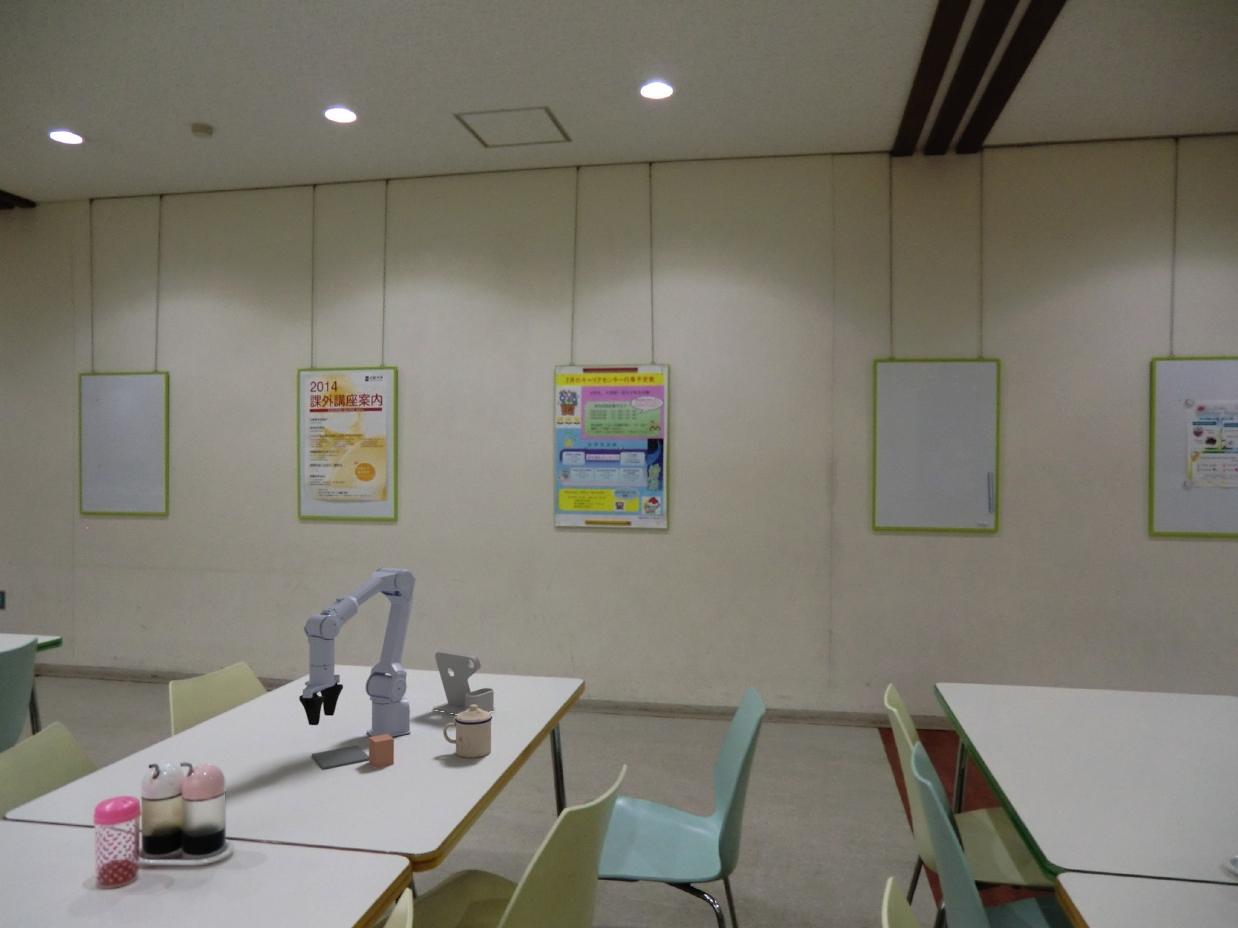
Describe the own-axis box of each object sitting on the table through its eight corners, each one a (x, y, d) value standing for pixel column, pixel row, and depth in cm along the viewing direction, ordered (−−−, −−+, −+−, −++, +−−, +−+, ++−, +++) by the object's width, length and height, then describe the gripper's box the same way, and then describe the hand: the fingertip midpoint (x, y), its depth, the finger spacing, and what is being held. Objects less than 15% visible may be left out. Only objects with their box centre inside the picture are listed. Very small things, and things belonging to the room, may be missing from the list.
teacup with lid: (493, 745, 199) (494, 699, 200) (489, 758, 190) (490, 710, 190) (446, 746, 199) (446, 700, 199) (440, 759, 190) (440, 710, 190)
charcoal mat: (357, 747, 198) (357, 745, 198) (370, 759, 189) (370, 757, 189) (311, 755, 192) (311, 753, 192) (323, 769, 183) (323, 767, 183)
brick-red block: (387, 758, 190) (387, 733, 190) (393, 763, 187) (393, 738, 187) (368, 762, 188) (369, 737, 188) (374, 767, 184) (375, 742, 184)
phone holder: (498, 711, 230) (498, 649, 230) (474, 719, 221) (474, 656, 222) (455, 702, 239) (455, 643, 240) (430, 710, 231) (430, 649, 231)
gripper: (321, 656, 199) (320, 710, 198) (290, 670, 184) (290, 728, 184) (347, 657, 198) (347, 711, 197) (319, 671, 183) (318, 729, 183)
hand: (321, 719), depth 191 cm, fingers open, 7 cm apart
